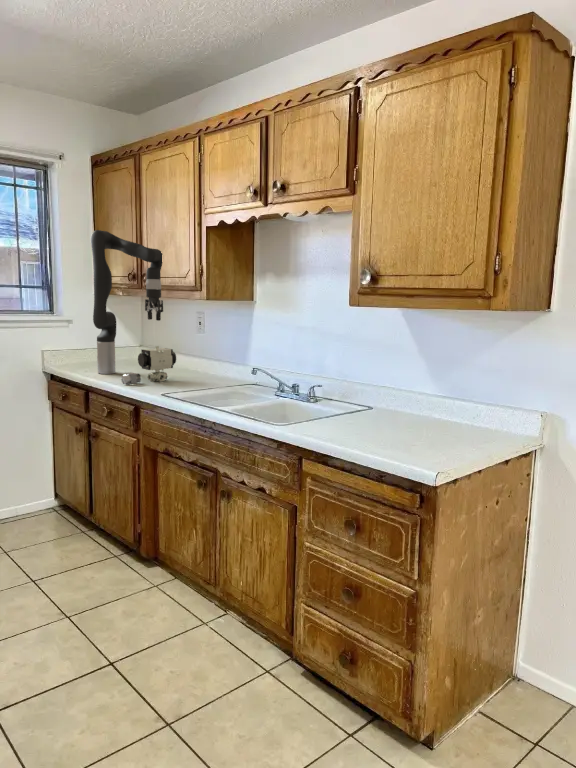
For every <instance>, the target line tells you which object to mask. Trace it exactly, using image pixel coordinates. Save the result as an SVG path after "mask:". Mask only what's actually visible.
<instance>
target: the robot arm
mask: <svg viewBox="0 0 576 768" xmlns="http://www.w3.org/2000/svg"><path fill="white" fill-rule="evenodd" d="M90 244H91V252H92V264H93V265H92V266H93V267H92V268H93V312H92V313H93V314H92V321H93V325H94V327H95V328H96V329H98V330H101V332H100V333H99V334H98V335H97V336H96V350H97V351H96V353H97V356H96V357H97V358H96V359H97V361H96V362H97V373H98V374H99V373H100V375H110V374H111V375H112V374H115V373H116V372H117V371H116V335H117V318H116V315H115V314H114V312H112V311H107V302H108V298H109V296H110V294H111V292H112V288H113V275H112V272H111V269H110V266H109V264H108V263H107V262H108V261H107V260H106V259H107V258H106V251H105V250H108V249H109V250H116V251H119V252H122V253H124V254H126V255H128V256H131V257H134V258H137V259H140V260H142V261H144V262H146V263H147V262H148V263H150V266H149V267H147V268H146V282H145V284H146V285H145V286H146V289H145V291H146V293H145V295H146V296H145V297H146V298H147V299H144V311H146V312H147V320H152V319H153V310H154V311H155V320H156V321H158V322H159V321H161V318H162V317H161V313H163V312H164V300H163V299H162V300H161V298H162V280H161V271H162V268H163V262H162V255H163V253H161V252H162V251H161V250H160V249H158V248H152V247H146V246H144V245H143V244H140V243H137V242H134V241H129V240H126V239H123V238H120V237H118V236H117V235H115V234H112V233H111V232H109V231H106V230H101V229H100V230H99V229H96V230H94V231H93V232H92V233H91V235H90Z"/></svg>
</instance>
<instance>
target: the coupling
mask: <svg viewBox="0 0 576 768" xmlns="http://www.w3.org/2000/svg"><path fill="white" fill-rule="evenodd" d="M141 380H142V377H141V374H140V373H134V372H132V371H130V372H125V374H122V375H121V383H122V384H123V385H125V384H126V385H129V384H138V383H141Z"/></svg>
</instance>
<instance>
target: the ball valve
mask: <svg viewBox="0 0 576 768" xmlns="http://www.w3.org/2000/svg"><path fill="white" fill-rule="evenodd" d="M159 347H160V346H159V345H155V348H146V349H144V348H143V349H141V352H140V353H139V354H138V355H137V363H138V365H139V366H140V367H141V369H142V370H146V371H153V372H150V373H148V374H147V380H148V381H149V382H152V381H154V382H159V383H162V382H165V381H166V380H167V379H168V373H167V372H165V371H164V370H166V369H168V370H169V369H174V366H175V364H176V362H177V354H176V352H175V351H174V349H172V348H167V347H164V348H163V347H161V348H159ZM160 370H161V371H160Z"/></svg>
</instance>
